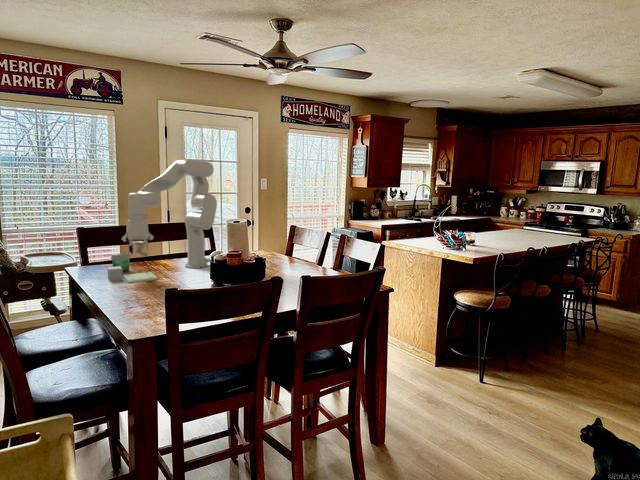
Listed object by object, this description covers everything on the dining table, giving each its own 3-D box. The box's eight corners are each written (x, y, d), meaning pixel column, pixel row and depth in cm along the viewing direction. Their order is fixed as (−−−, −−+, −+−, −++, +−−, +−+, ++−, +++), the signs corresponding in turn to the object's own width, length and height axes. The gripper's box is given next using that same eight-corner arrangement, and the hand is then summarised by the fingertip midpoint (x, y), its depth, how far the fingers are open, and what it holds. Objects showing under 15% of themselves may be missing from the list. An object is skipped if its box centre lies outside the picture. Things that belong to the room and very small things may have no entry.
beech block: (142, 252, 231) (141, 240, 230) (147, 256, 221) (147, 244, 220) (130, 253, 227) (129, 241, 226) (134, 257, 217) (134, 245, 217)
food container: (122, 274, 234) (121, 255, 232) (111, 273, 235) (110, 255, 233) (136, 269, 246) (135, 251, 244) (126, 268, 247) (125, 251, 245)
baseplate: (151, 273, 236) (150, 271, 236) (157, 279, 224) (157, 277, 224) (122, 276, 228) (122, 274, 228) (128, 282, 217) (128, 280, 216)
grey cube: (120, 277, 228) (120, 266, 227) (122, 279, 223) (122, 268, 222) (107, 278, 224) (107, 267, 223) (109, 281, 219) (109, 269, 218)
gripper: (153, 216, 229) (154, 250, 232) (117, 217, 220) (118, 253, 222) (156, 217, 223) (158, 252, 226) (119, 218, 213) (121, 255, 216)
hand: (138, 252), depth 224 cm, fingers closed on beech block, 6 cm apart
